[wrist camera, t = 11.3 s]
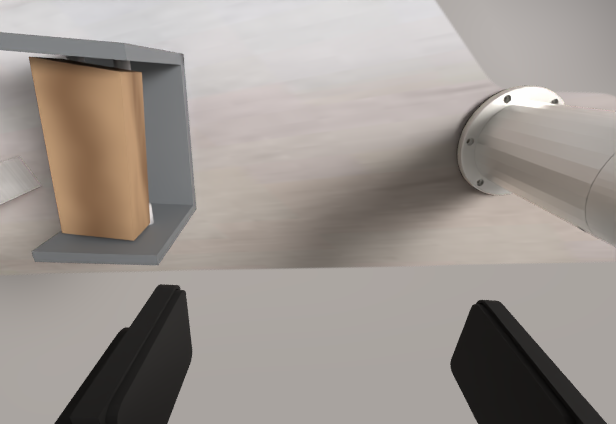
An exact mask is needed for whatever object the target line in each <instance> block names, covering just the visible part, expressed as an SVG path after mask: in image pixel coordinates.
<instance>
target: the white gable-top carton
mask: <svg viewBox="0 0 616 424" xmlns="http://www.w3.org/2000/svg"><path fill="white" fill-rule="evenodd" d="M40 186H42V185H41V183H40V182H39V181H38V179H37V178H36V177H35V175H34V174H33V173H32V172H31V170H30V169H29V168H28V166H27V165H26V164H25V162H24V161H23V160H22V159H21V157H20V156H18V157H15V158H11V159H8V160H5V161H1V162H0V205H1V204H3V203H5V202H7V201H10V200H12V199H14V198H16V197H18V196H21V195H23V194H25V193H27V192H29V191H32V190H34V189H36V188H38V187H40Z"/></svg>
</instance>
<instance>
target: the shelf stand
mask: <svg viewBox="0 0 616 424" xmlns="http://www.w3.org/2000/svg"><path fill="white" fill-rule="evenodd" d="M0 50H6V51H18V52H30V53H42V54H54V55H66V58H67V60H72V61H78V62H84V63H90V64H96V65H102V66H108V67H114V68H120V69H126V70H132V71H138V72H142V84H143V102H144V120H145V138H146V156H147V174H148V192H149V210H150V224H149V225H148V226H147V227H146V228H145V229H144V231H143V232H142V233H141V234H140V235H139V236H138V237H137V238H136V239H135V240H134V241H133V240H123V239H114V238H104V237H95V236H85V235H76V234H66V233H62V231H61V232H59V233H58V234H56V235H55V236H53V237H52V238H50V239H49V240H48V241H46V242H45V243H43V244H42V245H40V246H39V247H37V248H36V249H35V250H33V251H32V255H33V258H34V260H35V262H60V263H95V264H130V265H159V263H160V262H161V260H162V259H163V257H164V256H165V254H166V253H167V251H168V250H169V249H170V247H171V246H172V244H173V243H174V241H175V240H176V238H177V237H178V235H179V234H180V232H181V231H182V229H183V228H184V226H185V225H186V224H187V222H188V221H189V219H190V218H191V216H192V215H193V213H194V212H195V210H196V201H195V189H194V177H193V165H192V153H191V141H190V129H189V117H188V105H187V93H186V81H185V69H184V57H183V54H180V53H175V52H170V51H164V50H159V49H153V48H148V47H143V46H137V45H132V44H126V43H118V42H106V41H95V40H83V39H72V38H60V37H49V36H37V35H26V34H14V33H3V32H0Z"/></svg>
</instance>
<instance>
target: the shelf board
mask: <svg viewBox="0 0 616 424" xmlns="http://www.w3.org/2000/svg"><path fill="white" fill-rule="evenodd" d="M29 60H30V66H31V71H32V76H33V81H34V87H35V92H36V97H37V103H38V108H39V113H40V118H41V124H42V129H43V134H44V139H45V145H46V150H47V155H48V161H49V166H50V171H51V176H52V182H53V187H54V192H55V197H56V203H57V208H58V213H59V219H60V224H61V229H62V233H66V234H76V235H85V236H95V237H104V238H114V239H123V240H133V241H134V240H135V239H136V238H137V237H138V236H139V235H140V234H141V233H142V232H143V231H144V229H145V228H146V227H147V226H148V225H149V224H150V210H149V192H148V174H147V156H146V138H145V120H144V102H143V84H142V72H138V71H132V70H126V69H120V68H114V67H108V66H102V65H96V64H90V63H84V62H78V61H72V60H66V59H56V58H41V57H29Z"/></svg>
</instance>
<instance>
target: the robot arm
mask: <svg viewBox="0 0 616 424" xmlns="http://www.w3.org/2000/svg"><path fill="white" fill-rule="evenodd" d="M467 140H468V141H467ZM457 154H458V164H459V168H460V171H461V173H462V175H463V177H464V178H465V179H466V181H467V182H468V183H469V184H470V185H472V186H473V187H475V188H476V189H478V190H480V191H482V192H484V193H487V194H491V195H509V194H513V193H514V194H515V195H517V196H519V197H521V198H523V199H525V200H527V201H529V202H530V203H532V204H534V205H536V206H538V207H540V208H542V209H543V210H545V211H547V212H549V213H551V214H553V215H555V216H557V217H558V218H560V219H562V220H564V221H566V222H568V223H570V224H572V225H573V226H575V227H577V228H579V229H581V230H583V231H585V232H587V233H589V234H591V235H592V236H594V237H596V238H598V239H600V240H602V241H604V242H606V243H608V244H610V245H612V246H613V247H615V248H616V111H612V110H603V109H594V108H586V107H577V106H568V105H565V103H564V101H563V100H562V98H561V97H559V96H558V95H557V94H556V93H555V92H553V91H551V90H549V89H547V88H543V87H538V86H517V87H512V88H509V89H506V90H503V91H501V92H500V93H498V94H496V95H494V96H492V97H491V98H490V99H488V100H487V101H486V102H484V103H483V104H482V105H481V106H480V107H479V108H478V109H477V110H476V111H475V112H474V113H473V115H472V116H471V118H470V119H469V120H468V122H467V124H466V126H465V128H464V129H463V131H462V134H461V137H460V140H459V145H458V152H457ZM191 358H192V345H191V336H190V326H189V318H188V309H187V299H186V292H185V291H184V290H180V287H179V286H178V285H158V286H157V287H156V289H155V290H154V292H153V294H152V295H151V297H150V298H149V299H148V301H147V302H146V304H145V305H144V307H143V308H142V310H141V311H140V313H139V314H138V316H137V317H136V319H135V320H134V321H133V323H132V324H131V326H130V327H129V328H123V329H122V330H121V331H120V332H119V333H118V334H117V336H116V337H115V338H114V340H113V341H112V343H111V344H110V345H109V347H108V348H107V350H106V351H105V352H104V354H103V355H102V357H101V358H100V360H99V361H98V363H97V364H96V365H95V367H94V368H93V370H92V371H91V372H90V374H89V375H88V377H87V378H86V380H85V381H84V382H83V384H82V385H81V387H80V388H79V390H78V391H77V392H76V394H75V395H74V397H73V398H72V399H71V401H70V402H69V404H68V405H67V406H66V408H65V409H64V411H63V412H62V414H61V415H60V416H59V418H58V420H57V421H56V422H55V424H167V423H168V420H169V417H170V415H171V412H172V410H173V407H174V404H175V402H176V399H177V397H178V394H179V391H180V389H181V386H182V383H183V381H184V378H185V376H186V373H187V370H188V368H189V365H190V362H191ZM450 365H451V371H452V373H453V375H454V377H455V379H456V381H457V383H458V385H459V387H460V389H461V391H462V393H463V395H464V397H465V399H466V401H467V403H468V405H469V407H470V409H471V411H472V413H473V415H474V417H475V419H476V420H477V423H478V424H607V423H606V422H605V421H604V420H603V419H602V417H601V416H600V415H599V414H598V413H597V412H596V411H595V409H594V408H593V407H592V406H591V405H590V404H589V403H588V401H587V400H586V399H585V398H584V397H583V396H582V395H581V393H580V392H579V391H578V390H577V389H576V388H575V387H574V385H573V384H572V383H571V382H570V381H569V380H568V379H567V377H566V376H565V375H564V374H563V373H562V372H561V371H560V369H559V368H558V367H557V366H556V365H555V364H554V363H553V361H552V360H551V359H550V358H549V357H548V356H547V355H546V353H545V352H544V351H543V350H542V349H541V348H540V347H539V345H538V344H537V343H536V342H535V341H534V340H533V339H532V338H531V336H530V335H529V334H528V333H527V332H526V331H525V329H524V328H523V327H522V326H521V325H520V324H519V323H518V321H517V320H516V319H515V318H514V317H513V316H512V315H511V313H510V312H509V311H508V310H507V309H506V308H505V306H504V305H503V304H502V303H501V302H499V301H489V300H479V301H478V302H477V303H476V304H474V305H472V307H471V310H470V312H469V315H468V317H467V320H466V323H465V325H464V328H463V330H462V333H461V335H460V338H459V341H458V343H457V346H456V348H455V351H454V354H453V356H452V359H451V364H450Z"/></svg>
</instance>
